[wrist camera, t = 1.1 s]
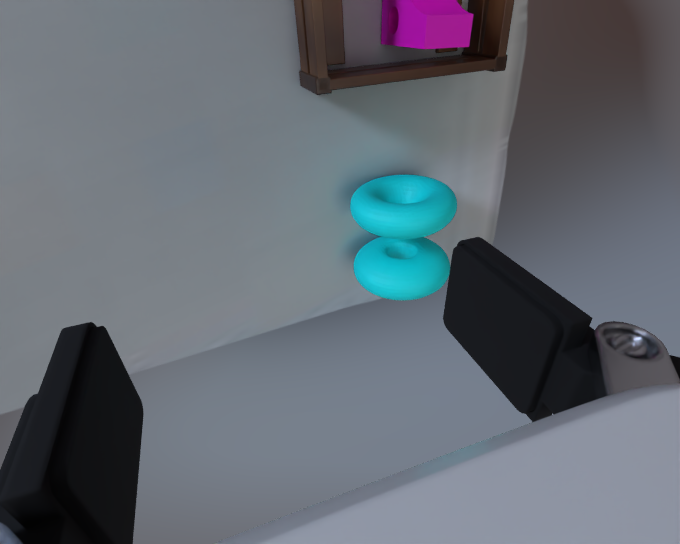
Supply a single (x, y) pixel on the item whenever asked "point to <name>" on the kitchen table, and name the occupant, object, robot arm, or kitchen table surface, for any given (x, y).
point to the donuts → (402, 235)
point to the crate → (328, 49)
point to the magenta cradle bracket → (425, 24)
